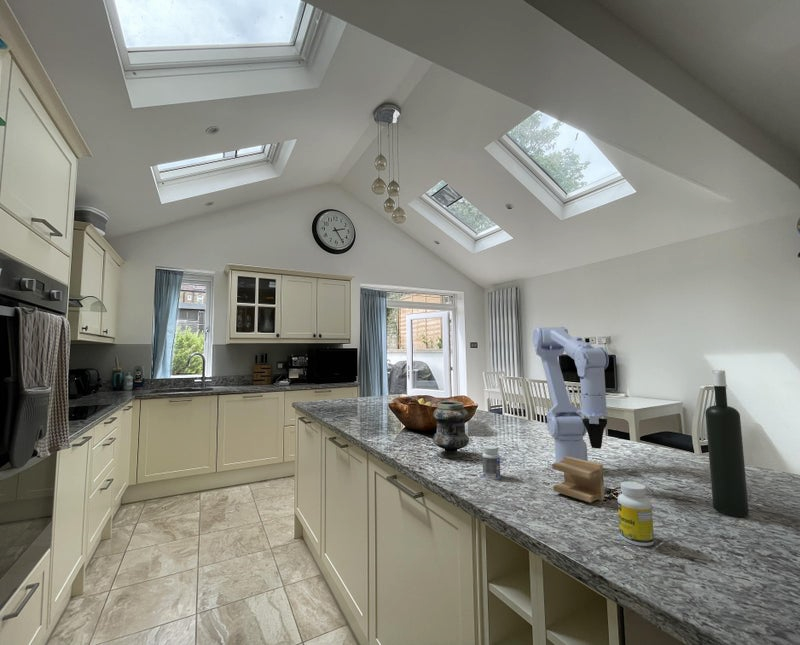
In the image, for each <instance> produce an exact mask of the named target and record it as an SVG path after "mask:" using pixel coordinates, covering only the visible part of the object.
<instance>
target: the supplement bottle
mask: <svg viewBox="0 0 800 645" xmlns="http://www.w3.org/2000/svg"><path fill="white" fill-rule="evenodd" d="M646 488H647V487H646V486H645V485H644V484H642V483H639V482H635V481H622V482H621V483H620V491H621V492H622V493H620V494H618V495H617V511H618V512H617V513H618V528H619V535H620V538H622V540H624V541H625V542H627V543H629V544H632V545H635V546H638V547H649V546H653V545H654V543H655V535H654V534H655V531H654V521H653V520H654V517H653V507H652V506H653V505H652V501H651V500H650V499H649V498H648V497H647V489H646Z"/></svg>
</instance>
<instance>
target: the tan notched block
mask: <svg viewBox="0 0 800 645" xmlns="http://www.w3.org/2000/svg"><path fill="white" fill-rule="evenodd" d="M551 465H552V468H551V469H552V470H554V471H558V472H562V473H563V478H564V479H563V480H564V481H563V482H560V483H558V484H554V485H553V486H552V487H553V492H555V493H558V494H562V495H564V496H569V497H571V498H574V499H577V500H581V501H585V502H587V503H592V502H594V501H596V500H597V501H601V502H602V501H604V500H605V483H604V480H605V479H604V466H603V464H602V463H598V462H594V461H590V460H588V461H586V460H581V459H577V458H573V457H568V456H565V457H563V461H560V462H557V463H556V462H555V463H552V464H551Z"/></svg>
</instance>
